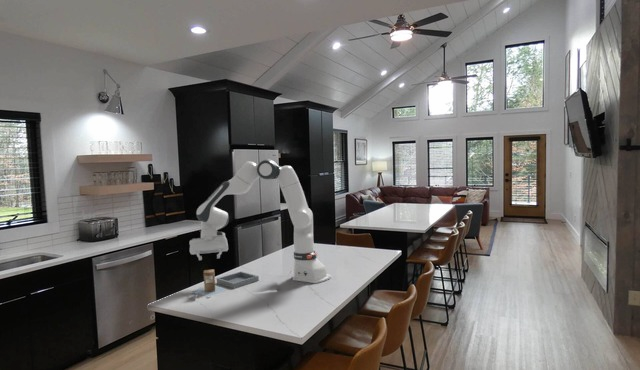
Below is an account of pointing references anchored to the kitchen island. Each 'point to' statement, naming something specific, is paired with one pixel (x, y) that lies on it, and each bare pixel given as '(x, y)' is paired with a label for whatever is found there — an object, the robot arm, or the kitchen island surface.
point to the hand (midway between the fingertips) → (209, 258)
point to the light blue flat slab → (202, 292)
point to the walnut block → (209, 280)
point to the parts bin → (237, 279)
